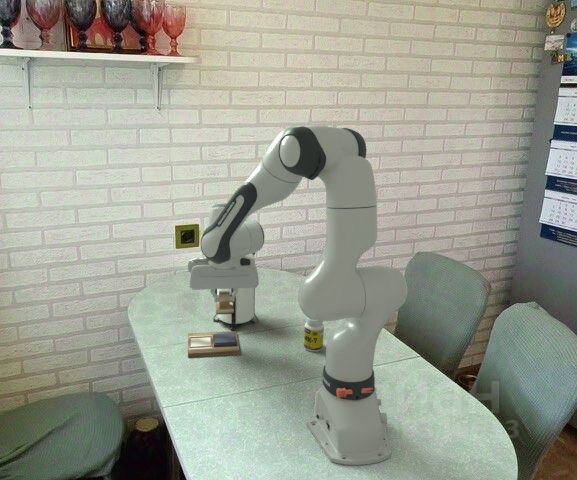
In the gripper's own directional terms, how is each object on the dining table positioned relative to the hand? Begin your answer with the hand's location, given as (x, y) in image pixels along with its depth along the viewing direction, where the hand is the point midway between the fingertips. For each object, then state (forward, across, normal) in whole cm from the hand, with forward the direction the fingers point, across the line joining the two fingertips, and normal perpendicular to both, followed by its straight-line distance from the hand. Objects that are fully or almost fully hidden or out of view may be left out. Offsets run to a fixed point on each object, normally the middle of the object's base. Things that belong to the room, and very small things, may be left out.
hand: (224, 301), depth 168 cm
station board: (+14, -4, 0) cm, 15 cm away
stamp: (+3, 0, 0) cm, 3 cm away
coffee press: (+14, +4, +17) cm, 22 cm away
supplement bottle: (+14, +26, -5) cm, 31 cm away
